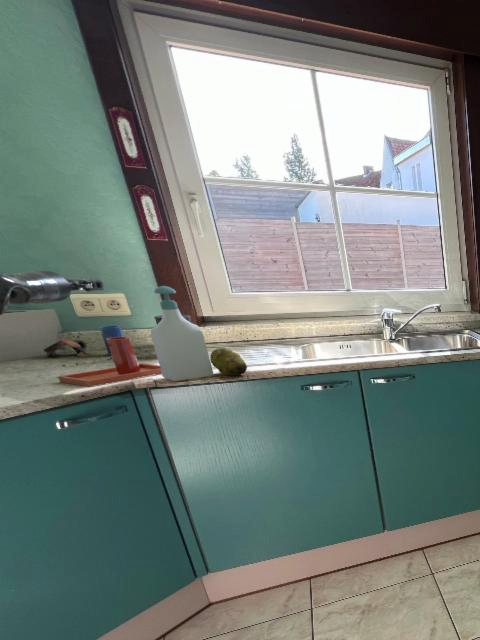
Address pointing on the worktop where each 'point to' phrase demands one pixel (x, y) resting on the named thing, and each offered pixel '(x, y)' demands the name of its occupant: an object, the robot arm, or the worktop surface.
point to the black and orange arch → (60, 345)
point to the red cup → (123, 355)
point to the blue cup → (110, 334)
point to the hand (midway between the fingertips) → (81, 283)
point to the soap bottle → (179, 343)
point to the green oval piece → (228, 362)
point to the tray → (108, 375)
